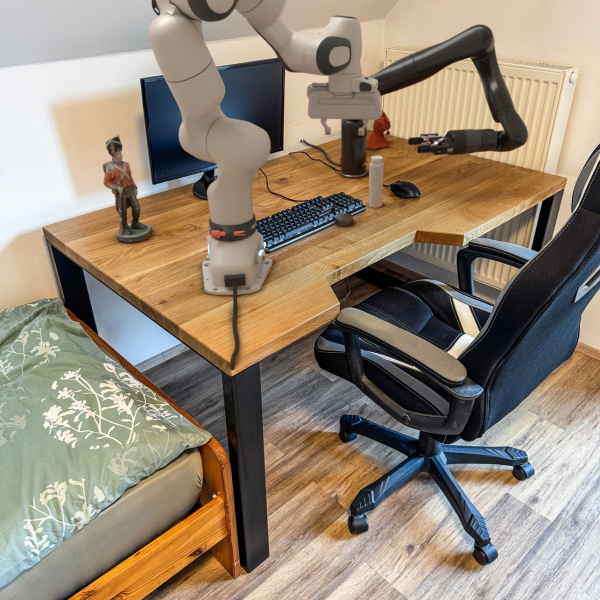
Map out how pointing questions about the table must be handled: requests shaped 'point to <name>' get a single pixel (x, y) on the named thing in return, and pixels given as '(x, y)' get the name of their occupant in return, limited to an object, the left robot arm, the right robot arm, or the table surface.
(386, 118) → the toy
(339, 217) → the lid
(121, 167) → the figurine
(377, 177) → the white cylinder
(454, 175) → the table surface
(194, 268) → the table surface
